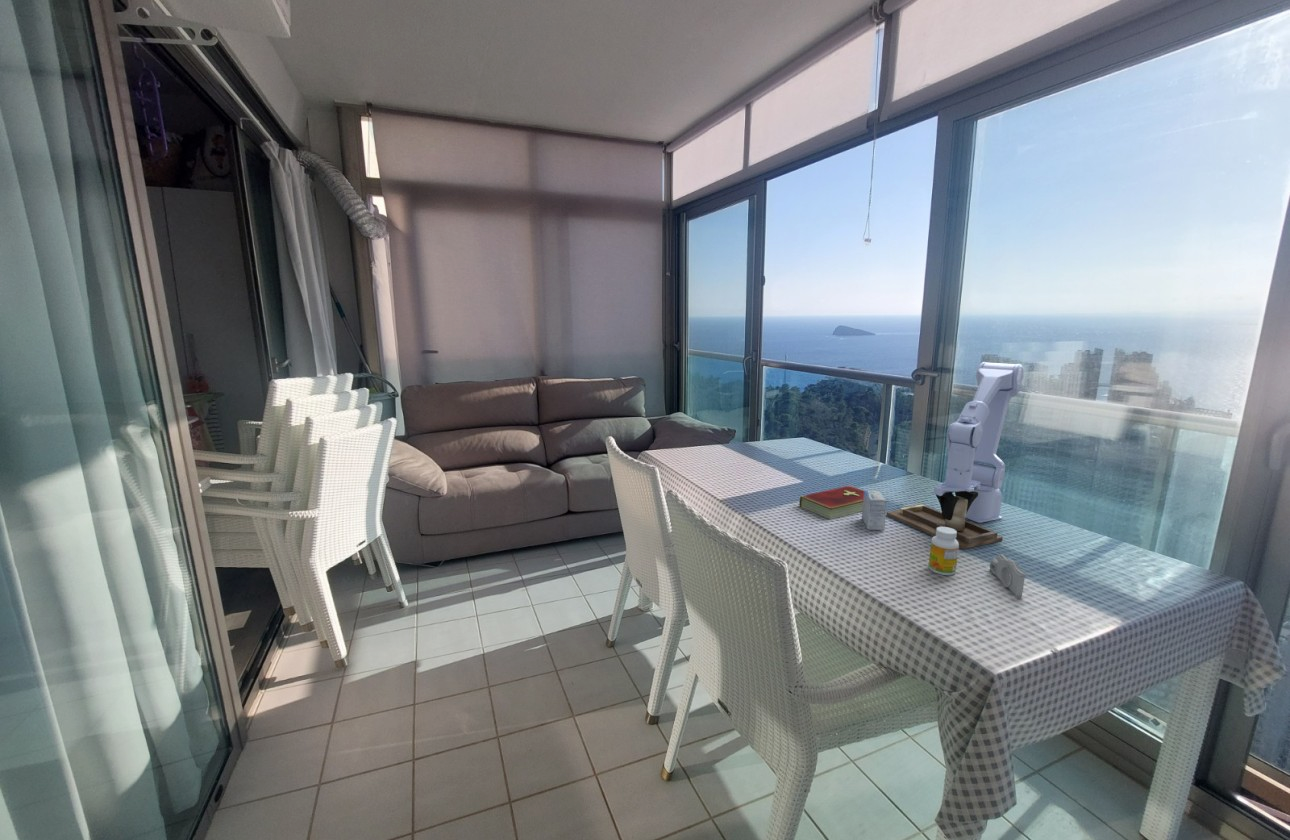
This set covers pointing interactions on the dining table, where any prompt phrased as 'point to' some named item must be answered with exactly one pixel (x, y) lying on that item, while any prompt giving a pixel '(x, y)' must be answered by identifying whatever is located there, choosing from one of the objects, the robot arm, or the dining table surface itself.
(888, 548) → the dining table surface
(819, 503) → the hardcover book
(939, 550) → the supplement bottle
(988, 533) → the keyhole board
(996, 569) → the grey toy camera
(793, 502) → the dining table surface
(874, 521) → the medicine box
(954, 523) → the ash peg
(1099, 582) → the dining table surface
